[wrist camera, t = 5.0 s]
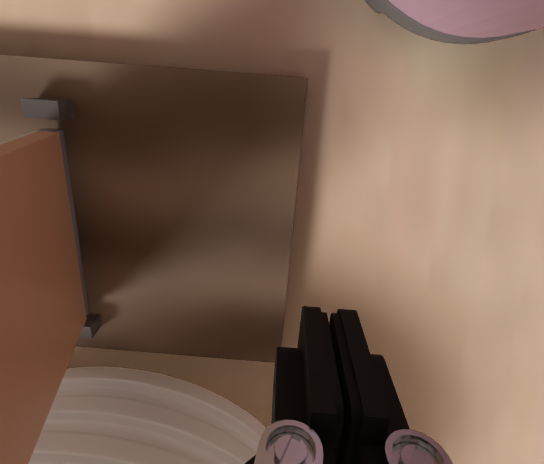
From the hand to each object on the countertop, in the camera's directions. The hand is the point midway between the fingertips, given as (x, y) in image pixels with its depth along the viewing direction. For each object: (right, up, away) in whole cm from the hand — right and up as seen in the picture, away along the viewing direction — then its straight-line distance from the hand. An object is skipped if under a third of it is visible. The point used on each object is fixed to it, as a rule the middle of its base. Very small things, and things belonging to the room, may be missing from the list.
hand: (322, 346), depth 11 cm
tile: (-10, +2, +2) cm, 11 cm away
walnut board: (-12, +5, +9) cm, 16 cm away
